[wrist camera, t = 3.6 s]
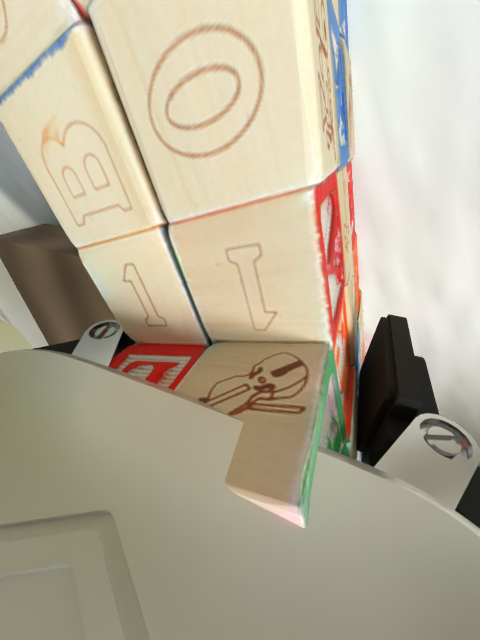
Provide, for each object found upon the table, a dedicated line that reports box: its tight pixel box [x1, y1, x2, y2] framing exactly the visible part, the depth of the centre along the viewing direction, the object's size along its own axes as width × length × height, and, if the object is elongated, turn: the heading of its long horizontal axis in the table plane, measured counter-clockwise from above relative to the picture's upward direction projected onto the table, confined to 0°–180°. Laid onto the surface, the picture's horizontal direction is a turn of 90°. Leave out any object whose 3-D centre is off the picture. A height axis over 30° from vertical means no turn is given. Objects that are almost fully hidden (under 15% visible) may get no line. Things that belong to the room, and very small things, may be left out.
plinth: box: [0, 224, 116, 346], centre depth 24 cm, size 14×26×4 cm, turn 0°
